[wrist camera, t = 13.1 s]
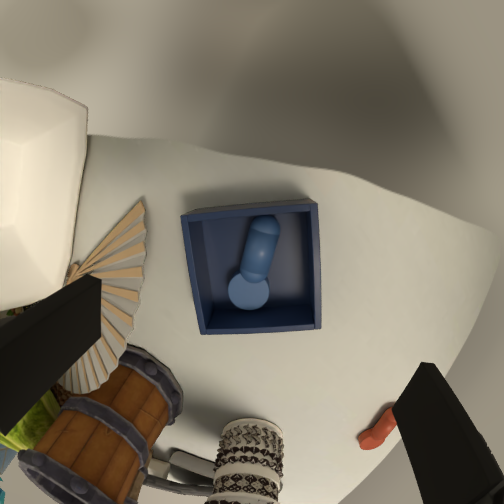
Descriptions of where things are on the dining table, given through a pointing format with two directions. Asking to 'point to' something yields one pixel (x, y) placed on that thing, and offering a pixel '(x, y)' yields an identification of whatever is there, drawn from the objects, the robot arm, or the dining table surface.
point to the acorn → (60, 394)
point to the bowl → (37, 188)
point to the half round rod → (196, 464)
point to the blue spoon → (255, 264)
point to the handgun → (177, 486)
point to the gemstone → (2, 495)
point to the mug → (106, 435)
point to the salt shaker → (159, 468)
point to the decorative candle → (248, 463)
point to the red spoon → (378, 431)
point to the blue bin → (280, 274)
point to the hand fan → (111, 300)
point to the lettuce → (33, 424)
